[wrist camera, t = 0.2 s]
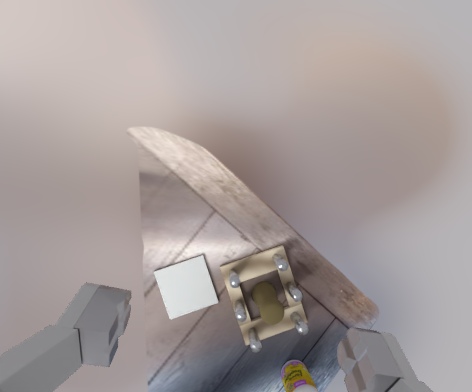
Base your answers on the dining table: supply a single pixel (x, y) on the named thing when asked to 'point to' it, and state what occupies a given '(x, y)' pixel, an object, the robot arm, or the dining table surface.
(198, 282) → the mat
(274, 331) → the board
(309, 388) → the supplement bottle
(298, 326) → the steel spacers
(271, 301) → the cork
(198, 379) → the dining table surface
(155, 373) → the dining table surface
